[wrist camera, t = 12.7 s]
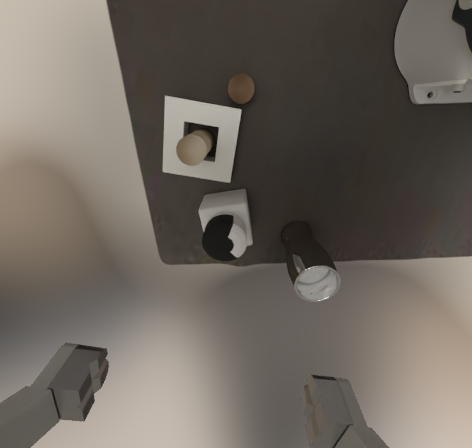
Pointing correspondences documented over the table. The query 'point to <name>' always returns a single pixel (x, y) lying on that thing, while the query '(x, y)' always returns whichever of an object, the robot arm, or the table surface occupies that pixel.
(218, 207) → the container
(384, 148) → the table surface
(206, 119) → the socket block
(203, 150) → the maple pin
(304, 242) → the beer glass
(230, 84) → the walnut pin
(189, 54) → the table surface
